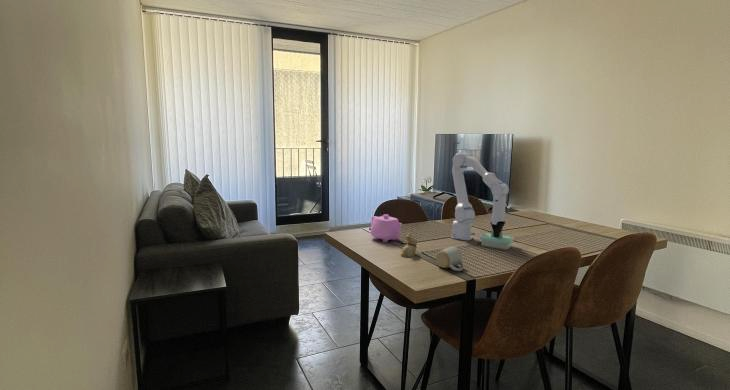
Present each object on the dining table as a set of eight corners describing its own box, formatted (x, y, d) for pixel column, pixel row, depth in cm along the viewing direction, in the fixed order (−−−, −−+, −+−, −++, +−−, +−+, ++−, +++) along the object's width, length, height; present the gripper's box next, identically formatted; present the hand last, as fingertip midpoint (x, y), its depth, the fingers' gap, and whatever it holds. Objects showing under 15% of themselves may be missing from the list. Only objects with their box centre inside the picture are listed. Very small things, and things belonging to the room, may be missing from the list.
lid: (479, 239, 188) (479, 231, 188) (485, 235, 197) (485, 228, 196) (509, 244, 181) (509, 236, 181) (513, 240, 189) (514, 232, 189)
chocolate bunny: (419, 256, 171) (420, 233, 169) (402, 256, 169) (402, 234, 168) (415, 252, 176) (416, 230, 175) (398, 253, 175) (399, 231, 173)
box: (481, 246, 189) (481, 237, 189) (486, 242, 196) (486, 234, 195) (507, 250, 183) (507, 242, 182) (511, 246, 189) (511, 238, 189)
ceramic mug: (433, 266, 158) (435, 247, 157) (446, 262, 163) (448, 244, 162) (455, 273, 150) (456, 254, 149) (468, 269, 155) (469, 250, 154)
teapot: (363, 237, 200) (363, 213, 199) (380, 233, 209) (381, 210, 207) (391, 246, 186) (392, 219, 184) (408, 241, 194) (409, 216, 192)
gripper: (503, 212, 178) (501, 241, 180) (511, 207, 191) (509, 234, 193) (488, 210, 182) (486, 238, 184) (496, 206, 194) (494, 232, 196)
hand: (496, 236), depth 189 cm, fingers closed on lid, 2 cm apart
